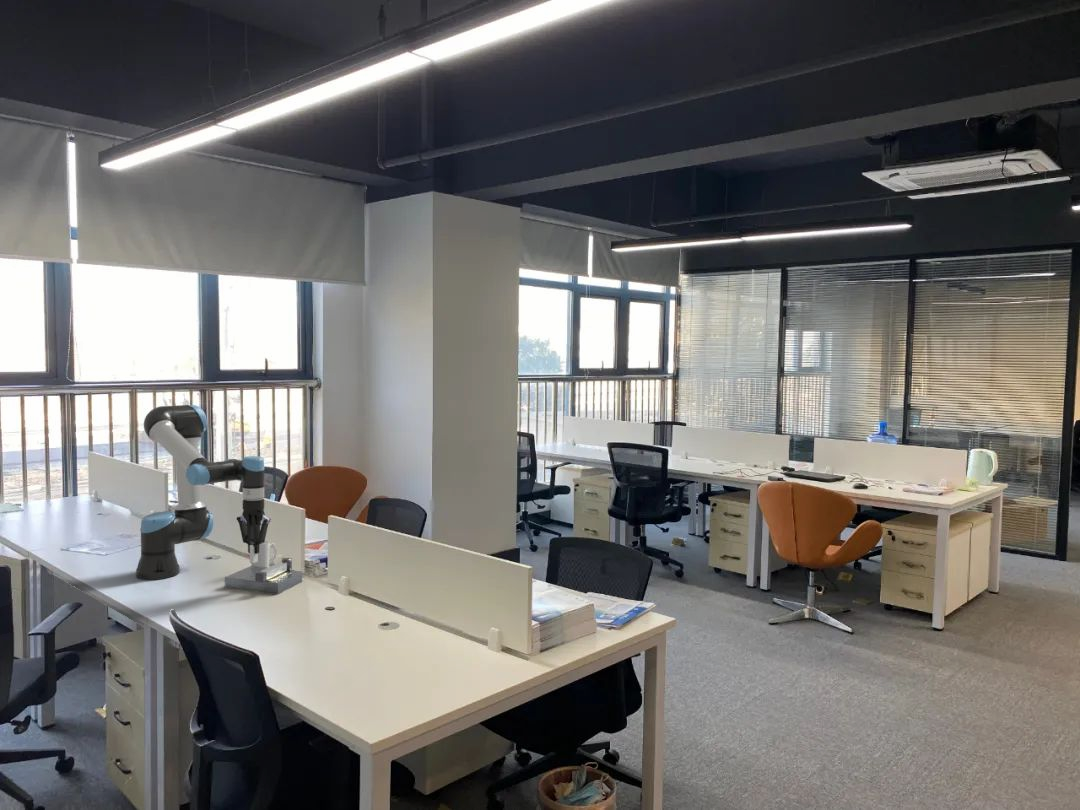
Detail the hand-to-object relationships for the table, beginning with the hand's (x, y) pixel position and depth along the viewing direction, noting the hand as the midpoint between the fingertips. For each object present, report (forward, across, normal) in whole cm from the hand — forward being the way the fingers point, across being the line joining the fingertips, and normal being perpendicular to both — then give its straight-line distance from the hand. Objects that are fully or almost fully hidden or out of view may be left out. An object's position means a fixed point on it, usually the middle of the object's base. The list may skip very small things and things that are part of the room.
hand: (253, 562), depth 284 cm
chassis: (+10, +2, +4) cm, 11 cm away
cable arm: (+5, +7, +3) cm, 9 cm away
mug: (+10, -8, +19) cm, 23 cm away
